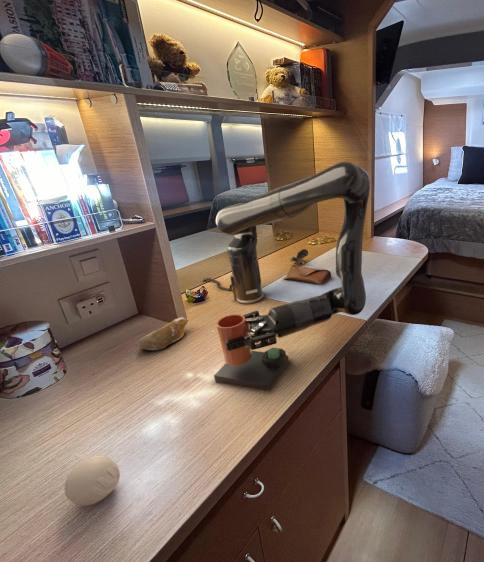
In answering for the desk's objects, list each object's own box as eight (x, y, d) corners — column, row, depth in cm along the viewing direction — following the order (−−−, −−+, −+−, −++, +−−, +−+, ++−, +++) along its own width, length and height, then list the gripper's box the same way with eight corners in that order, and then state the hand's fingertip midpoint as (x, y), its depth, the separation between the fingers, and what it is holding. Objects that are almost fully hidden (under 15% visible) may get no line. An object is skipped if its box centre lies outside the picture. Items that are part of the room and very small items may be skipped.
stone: (129, 332, 90) (178, 305, 101) (133, 349, 94) (180, 321, 105) (146, 345, 88) (195, 316, 99) (150, 361, 91) (196, 332, 102)
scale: (215, 382, 80) (212, 369, 79) (241, 354, 90) (238, 342, 89) (270, 391, 76) (268, 378, 75) (290, 361, 86) (289, 349, 85)
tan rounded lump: (103, 518, 52) (88, 489, 49) (63, 511, 53) (46, 482, 50) (135, 477, 58) (123, 449, 55) (98, 472, 59) (85, 444, 57)
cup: (219, 363, 79) (210, 326, 75) (234, 348, 84) (226, 313, 80) (243, 367, 77) (235, 329, 73) (256, 351, 82) (250, 315, 78)
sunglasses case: (281, 279, 135) (285, 262, 135) (290, 281, 141) (293, 266, 142) (322, 285, 128) (325, 267, 129) (329, 287, 134) (332, 270, 135)
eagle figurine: (309, 265, 146) (312, 255, 153) (298, 253, 143) (302, 243, 150) (296, 273, 149) (299, 263, 156) (285, 262, 146) (289, 252, 153)
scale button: (266, 358, 82) (265, 353, 82) (271, 352, 85) (270, 346, 84) (276, 360, 82) (275, 354, 81) (281, 353, 84) (280, 348, 84)
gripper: (279, 294, 89) (213, 312, 81) (301, 316, 77) (227, 339, 70) (282, 319, 92) (219, 338, 84) (305, 344, 80) (234, 369, 73)
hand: (223, 339), depth 77 cm, fingers closed on cup, 6 cm apart
